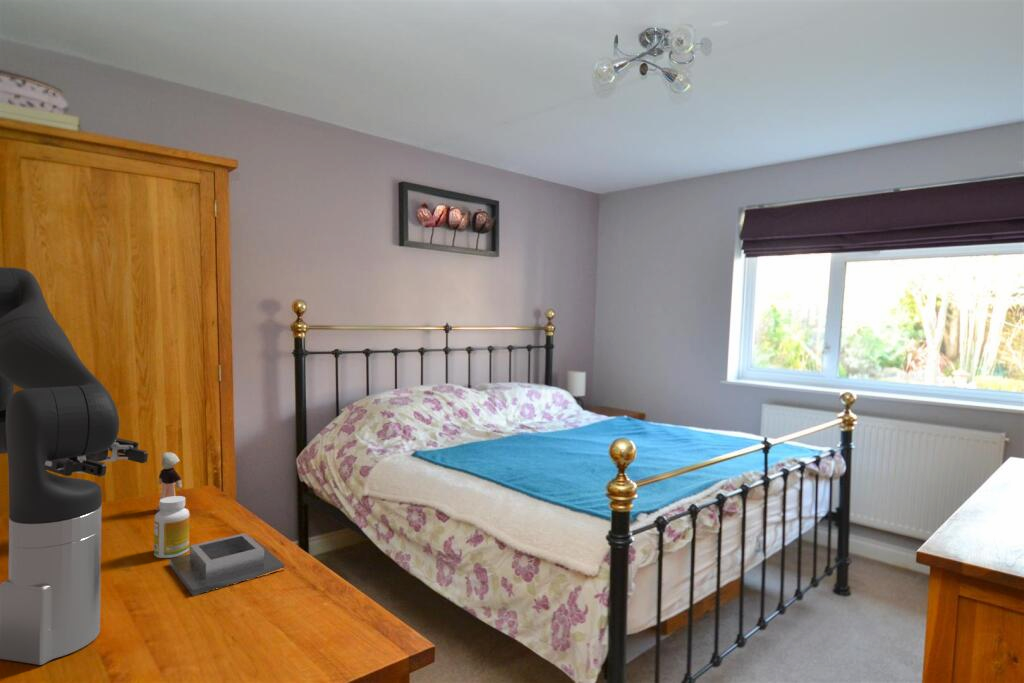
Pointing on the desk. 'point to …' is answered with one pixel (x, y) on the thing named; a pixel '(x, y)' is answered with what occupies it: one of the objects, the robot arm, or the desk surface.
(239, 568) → the socket plate
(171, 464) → the grandmother figurine
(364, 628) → the desk surface
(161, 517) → the supplement bottle
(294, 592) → the desk surface
